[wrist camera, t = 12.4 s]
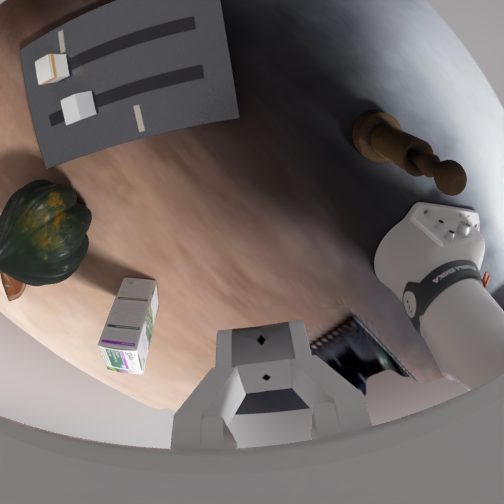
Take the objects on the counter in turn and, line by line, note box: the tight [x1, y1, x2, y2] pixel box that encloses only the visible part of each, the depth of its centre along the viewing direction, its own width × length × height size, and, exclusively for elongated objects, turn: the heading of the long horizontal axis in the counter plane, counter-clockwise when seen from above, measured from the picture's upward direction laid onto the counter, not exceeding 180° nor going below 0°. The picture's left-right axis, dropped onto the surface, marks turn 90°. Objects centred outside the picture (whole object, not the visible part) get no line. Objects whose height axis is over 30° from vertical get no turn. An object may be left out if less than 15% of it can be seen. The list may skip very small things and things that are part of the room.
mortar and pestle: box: [353, 110, 467, 196], centre depth 27 cm, size 7×6×18 cm
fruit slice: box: [0, 270, 26, 301], centre depth 41 cm, size 8×7×5 cm
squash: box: [0, 180, 92, 286], centre depth 33 cm, size 14×15×15 cm
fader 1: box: [35, 54, 70, 85], centre depth 22 cm, size 2×3×4 cm
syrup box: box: [98, 277, 159, 375], centre depth 40 cm, size 6×6×14 cm
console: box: [20, 0, 239, 169], centre depth 27 cm, size 26×18×3 cm
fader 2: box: [60, 91, 96, 125], centre depth 25 cm, size 2×3×4 cm, turn 8°
